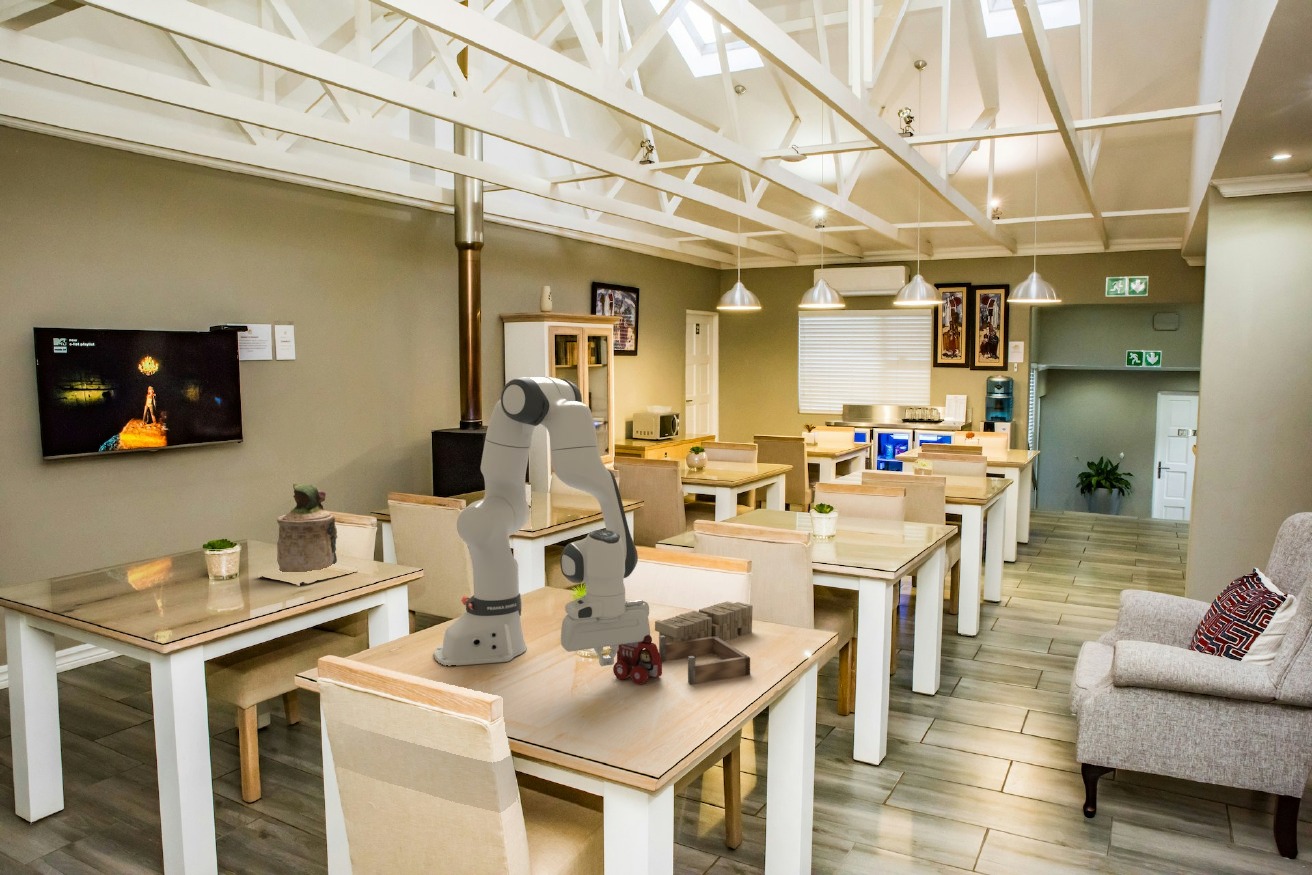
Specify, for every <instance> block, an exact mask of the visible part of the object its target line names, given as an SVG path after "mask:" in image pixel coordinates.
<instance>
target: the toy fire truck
mask: <svg viewBox="0 0 1312 875" xmlns="http://www.w3.org/2000/svg"><path fill="white" fill-rule="evenodd" d="M612 668H613V669H612V670H613V671H612V672H613V675H614V677H616V679H618V680H625V679H628V678H629V677H630V679H631V680H632V682H633V683H635V685H639V686H640V685H643V684H645V683H646V682H647V681H648V679H649V677H650V678H652V679H653V678H655V679H657V678H660V677H661V676H662V675H663V662H662V660H661V657H660V654H659V648H658V646H657V645H656V643H655V642H653V638H652V635H651V634H650V635H646V636H645V637H644V640H643V641H642V642H635V643H628V644H621V645H619V650H618V651H617V653H616V662H614V664H613V667H612Z"/></svg>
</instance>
